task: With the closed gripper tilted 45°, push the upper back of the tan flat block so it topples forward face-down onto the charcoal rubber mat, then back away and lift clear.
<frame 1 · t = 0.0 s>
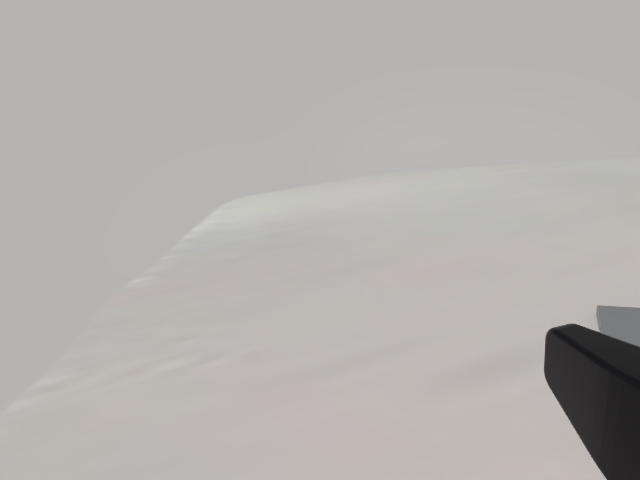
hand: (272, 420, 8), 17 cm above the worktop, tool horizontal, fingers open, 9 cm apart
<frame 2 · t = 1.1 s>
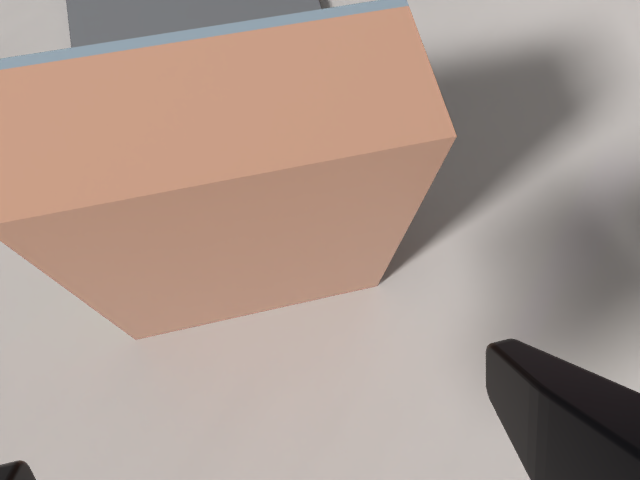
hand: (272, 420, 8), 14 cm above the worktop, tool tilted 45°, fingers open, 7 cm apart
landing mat: (209, 70, 27), on the worktop
tan flat block: (250, 266, 24), on the worktop
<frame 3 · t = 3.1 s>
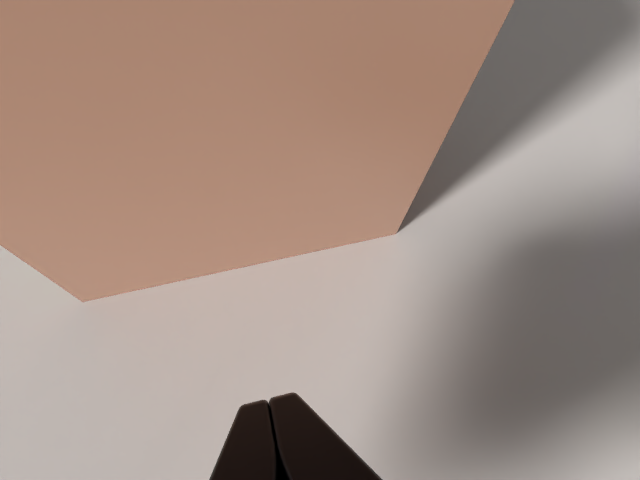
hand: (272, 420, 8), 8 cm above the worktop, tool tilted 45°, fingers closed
tan flat block: (232, 209, 18), on the worktop
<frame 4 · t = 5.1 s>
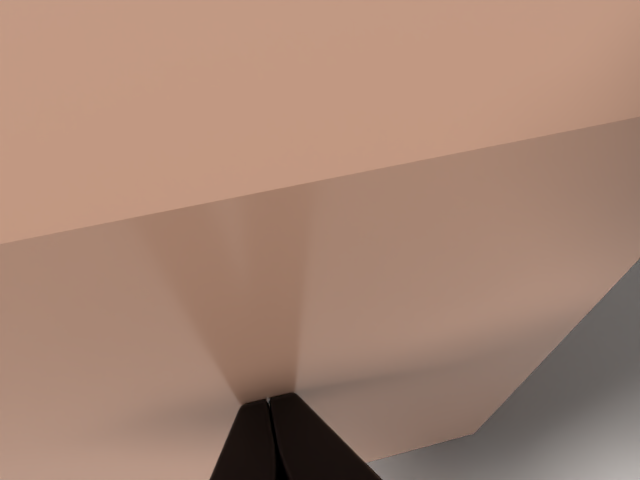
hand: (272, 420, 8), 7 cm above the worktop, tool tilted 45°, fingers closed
tan flat block: (272, 406, 15), on the worktop, tilted 12°
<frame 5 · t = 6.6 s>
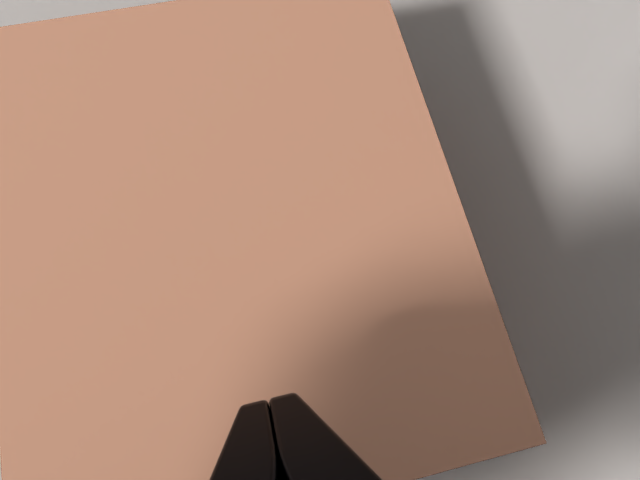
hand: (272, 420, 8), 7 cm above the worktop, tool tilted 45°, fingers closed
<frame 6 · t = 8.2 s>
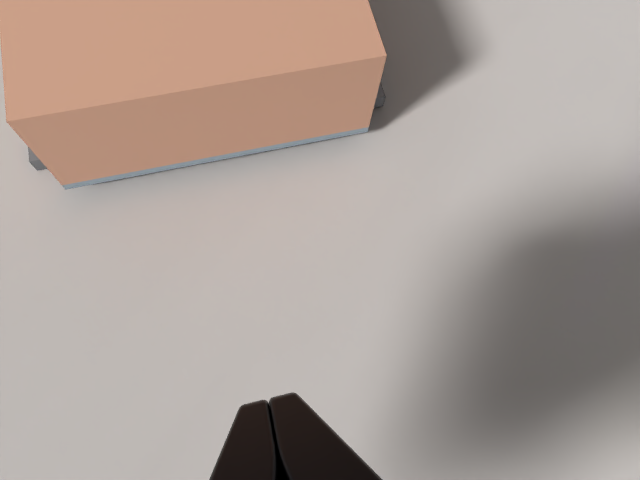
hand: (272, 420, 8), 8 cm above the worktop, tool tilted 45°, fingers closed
tan flat block: (214, 127, 17), point 3 cm above the worktop, tilted 90°, touching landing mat
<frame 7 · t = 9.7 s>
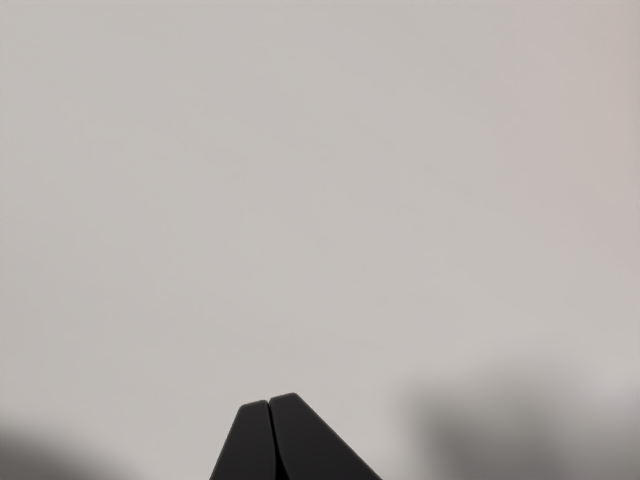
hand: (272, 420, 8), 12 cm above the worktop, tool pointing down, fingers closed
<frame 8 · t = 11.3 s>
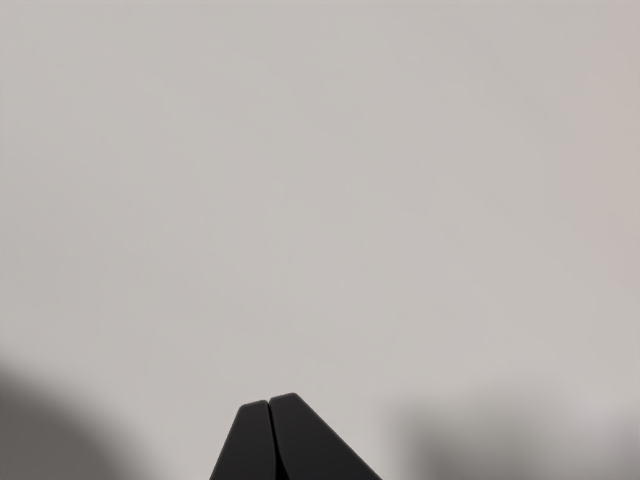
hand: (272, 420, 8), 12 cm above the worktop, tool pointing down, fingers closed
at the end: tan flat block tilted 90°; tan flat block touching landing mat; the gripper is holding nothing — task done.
